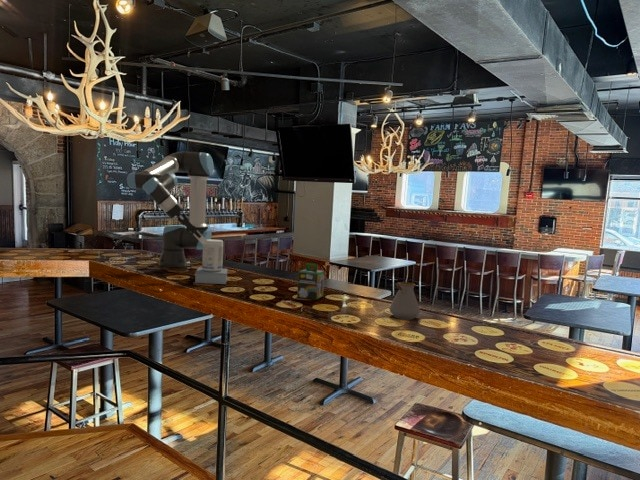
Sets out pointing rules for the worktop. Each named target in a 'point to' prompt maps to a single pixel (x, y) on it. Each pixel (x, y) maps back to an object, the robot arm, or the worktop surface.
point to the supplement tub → (212, 255)
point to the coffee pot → (405, 302)
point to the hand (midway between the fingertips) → (203, 241)
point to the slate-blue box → (211, 276)
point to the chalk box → (310, 283)
